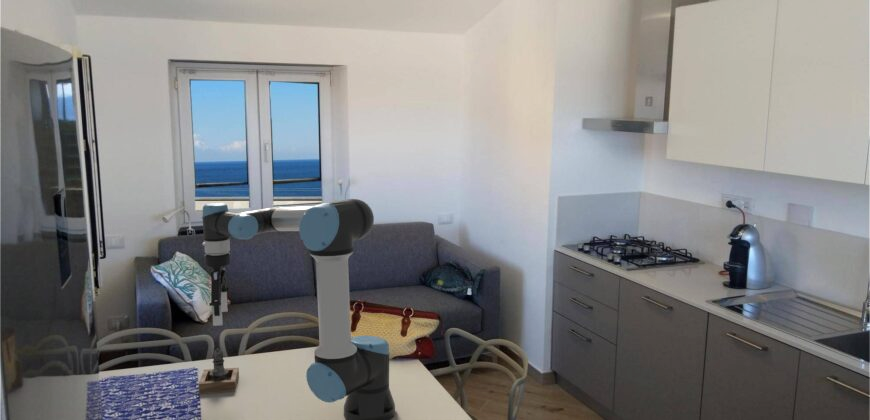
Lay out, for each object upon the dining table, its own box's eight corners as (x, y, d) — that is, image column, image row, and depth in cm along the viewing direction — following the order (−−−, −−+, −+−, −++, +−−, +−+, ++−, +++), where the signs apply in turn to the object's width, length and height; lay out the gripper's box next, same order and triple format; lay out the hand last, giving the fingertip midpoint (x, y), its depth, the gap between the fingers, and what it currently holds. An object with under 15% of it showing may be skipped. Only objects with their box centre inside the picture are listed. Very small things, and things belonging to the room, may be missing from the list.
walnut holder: (235, 391, 209) (235, 381, 208) (199, 393, 207) (198, 383, 206) (238, 376, 220) (238, 367, 219) (204, 379, 218) (203, 369, 217)
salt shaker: (223, 387, 210) (221, 351, 208) (206, 385, 211) (204, 350, 209) (232, 379, 215) (230, 344, 213) (215, 378, 217) (213, 343, 214)
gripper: (210, 244, 217) (213, 306, 220) (198, 262, 193) (202, 332, 196) (233, 243, 218) (236, 305, 222) (225, 261, 194) (228, 330, 198)
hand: (220, 318), depth 209 cm, fingers open, 13 cm apart
